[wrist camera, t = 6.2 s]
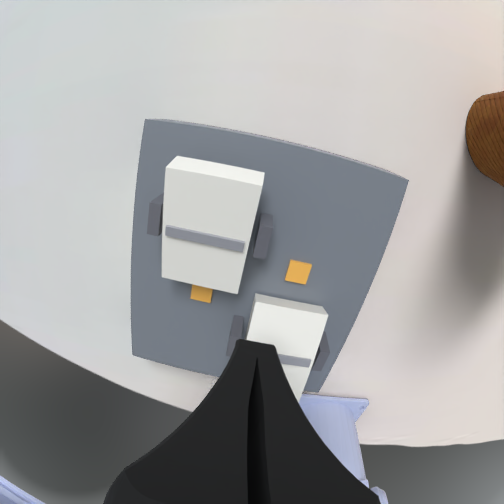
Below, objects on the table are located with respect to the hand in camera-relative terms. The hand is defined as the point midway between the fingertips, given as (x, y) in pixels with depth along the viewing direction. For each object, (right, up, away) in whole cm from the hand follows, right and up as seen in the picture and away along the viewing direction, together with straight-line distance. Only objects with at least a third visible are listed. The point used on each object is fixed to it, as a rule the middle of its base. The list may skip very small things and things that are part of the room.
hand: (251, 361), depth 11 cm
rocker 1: (-2, +5, +4) cm, 7 cm away
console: (0, +3, +9) cm, 10 cm away
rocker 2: (+2, -2, +6) cm, 7 cm away
